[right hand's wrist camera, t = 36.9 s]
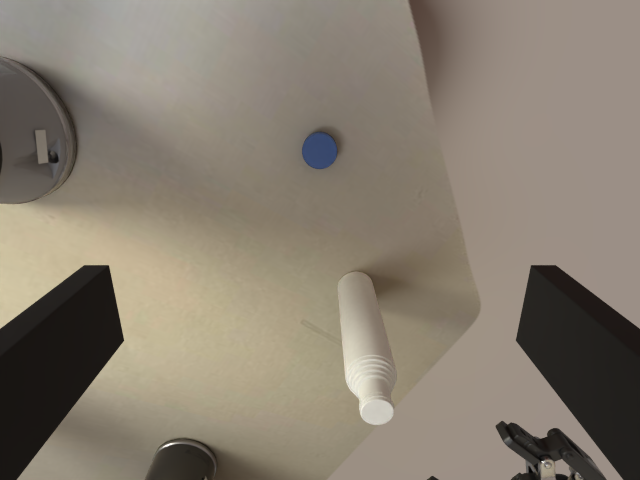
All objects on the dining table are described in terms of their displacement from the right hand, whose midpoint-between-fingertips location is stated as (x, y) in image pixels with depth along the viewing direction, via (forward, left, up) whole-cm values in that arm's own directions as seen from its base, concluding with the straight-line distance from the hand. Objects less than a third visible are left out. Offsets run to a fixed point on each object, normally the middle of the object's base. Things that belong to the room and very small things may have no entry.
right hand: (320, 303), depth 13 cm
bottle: (-3, -17, -34) cm, 38 cm away
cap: (0, 0, -33) cm, 33 cm away
